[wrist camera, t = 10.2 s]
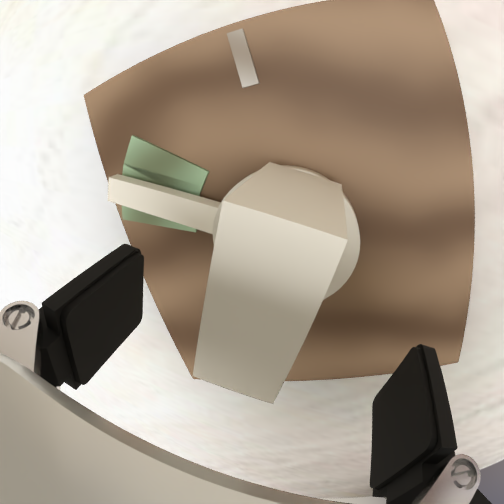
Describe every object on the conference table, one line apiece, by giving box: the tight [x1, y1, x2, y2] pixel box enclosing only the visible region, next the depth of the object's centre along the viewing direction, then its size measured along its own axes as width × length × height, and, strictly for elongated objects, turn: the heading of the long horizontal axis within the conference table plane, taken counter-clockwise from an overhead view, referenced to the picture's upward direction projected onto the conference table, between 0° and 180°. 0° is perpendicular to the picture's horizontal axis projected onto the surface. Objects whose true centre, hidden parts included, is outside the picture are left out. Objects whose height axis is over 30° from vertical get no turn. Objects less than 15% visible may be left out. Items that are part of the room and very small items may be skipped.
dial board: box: [84, 0, 475, 381], centre depth 16 cm, size 22×20×1 cm
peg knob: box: [108, 162, 360, 404], centre depth 13 cm, size 14×7×7 cm, turn 77°
